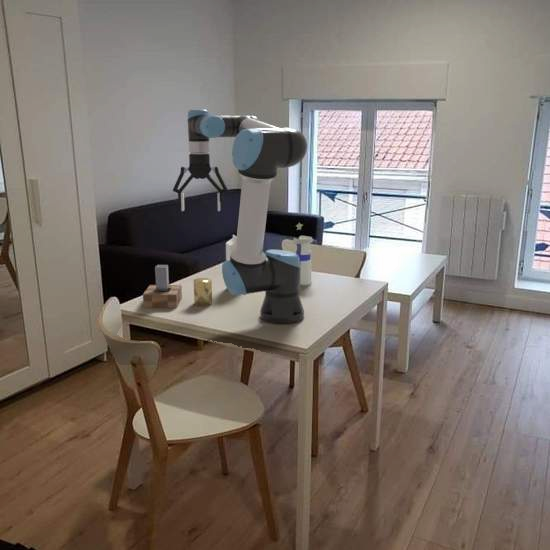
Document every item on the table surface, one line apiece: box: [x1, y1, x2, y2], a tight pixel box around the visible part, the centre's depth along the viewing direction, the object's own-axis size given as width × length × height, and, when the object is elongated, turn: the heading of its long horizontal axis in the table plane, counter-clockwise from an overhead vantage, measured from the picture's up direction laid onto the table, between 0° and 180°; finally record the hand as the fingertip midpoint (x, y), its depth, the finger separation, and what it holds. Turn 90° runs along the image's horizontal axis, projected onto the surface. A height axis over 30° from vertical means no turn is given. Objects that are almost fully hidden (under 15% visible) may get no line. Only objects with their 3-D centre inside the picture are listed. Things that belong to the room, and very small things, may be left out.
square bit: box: [154, 264, 170, 292], centre depth 208 cm, size 4×4×14 cm
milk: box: [225, 234, 237, 261], centre depth 224 cm, size 6×6×22 cm
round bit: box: [193, 277, 213, 308], centre depth 208 cm, size 7×7×9 cm
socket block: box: [142, 284, 183, 309], centre depth 210 cm, size 12×12×5 cm
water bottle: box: [293, 221, 314, 286], centre depth 233 cm, size 8×9×25 cm
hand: (201, 210), depth 214 cm, fingers open, 13 cm apart
